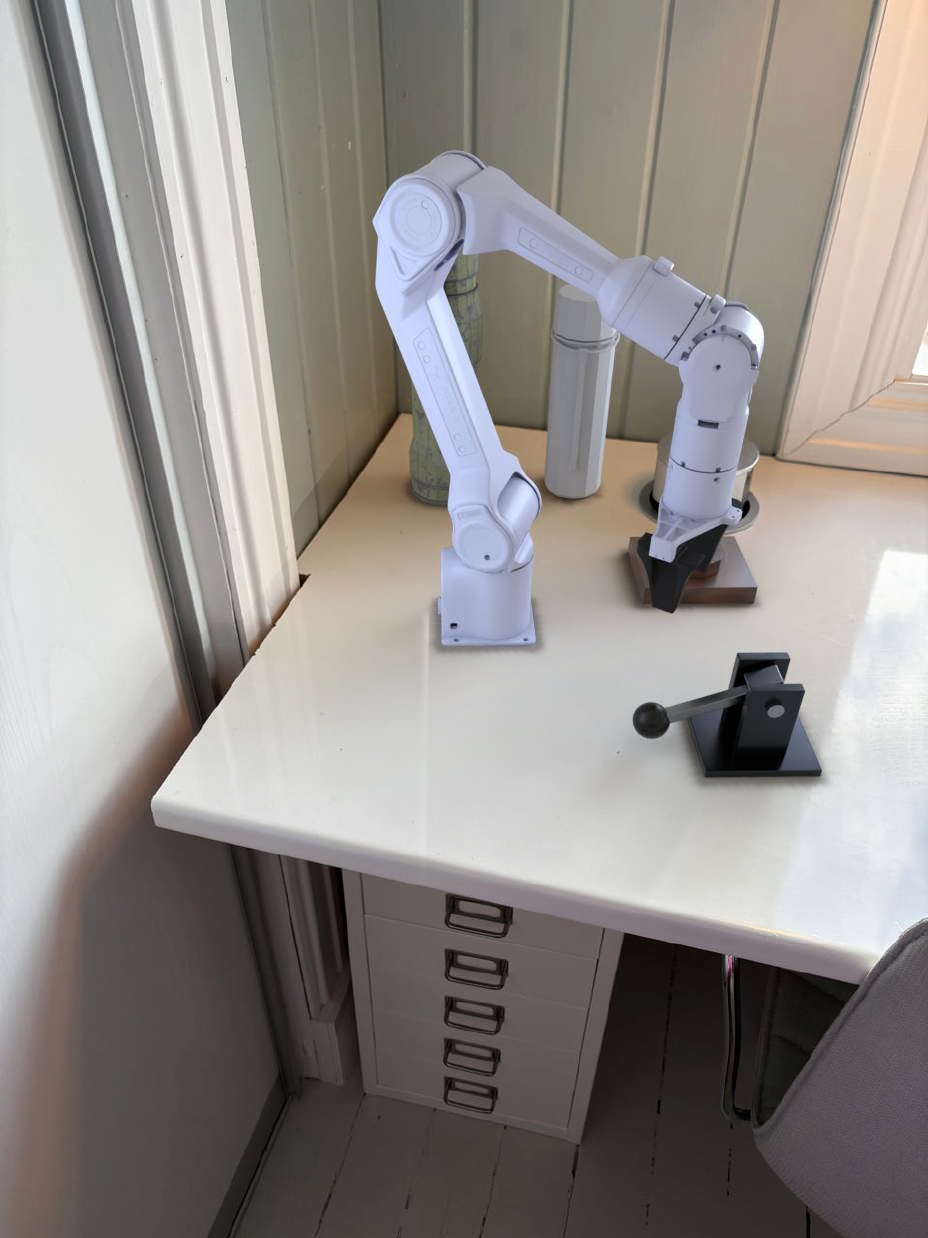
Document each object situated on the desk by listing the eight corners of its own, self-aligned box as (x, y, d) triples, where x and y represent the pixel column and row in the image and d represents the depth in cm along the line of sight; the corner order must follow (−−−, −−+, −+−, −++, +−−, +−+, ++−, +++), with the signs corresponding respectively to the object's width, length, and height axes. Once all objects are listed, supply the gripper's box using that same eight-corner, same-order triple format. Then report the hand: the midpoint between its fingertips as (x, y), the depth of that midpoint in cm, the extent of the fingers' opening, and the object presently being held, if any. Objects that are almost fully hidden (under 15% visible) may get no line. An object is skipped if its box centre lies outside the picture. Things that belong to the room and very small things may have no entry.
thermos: (481, 466, 123) (486, 182, 102) (478, 513, 114) (484, 210, 92) (414, 464, 123) (406, 180, 102) (406, 511, 114) (395, 209, 92)
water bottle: (542, 471, 122) (555, 279, 107) (602, 476, 121) (624, 282, 106) (537, 507, 115) (550, 306, 99) (601, 512, 114) (624, 310, 99)
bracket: (704, 779, 79) (722, 704, 74) (684, 715, 86) (700, 641, 80) (819, 778, 80) (846, 703, 74) (792, 714, 86) (814, 640, 81)
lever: (641, 750, 81) (631, 726, 79) (635, 724, 83) (625, 700, 81) (791, 708, 78) (784, 682, 76) (780, 682, 80) (773, 656, 78)
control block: (642, 604, 99) (647, 574, 97) (627, 552, 107) (631, 523, 105) (753, 603, 99) (761, 573, 97) (730, 552, 107) (737, 522, 105)
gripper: (718, 507, 72) (691, 643, 80) (777, 435, 81) (747, 563, 90) (634, 482, 75) (616, 616, 83) (701, 416, 84) (679, 541, 93)
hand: (679, 587), depth 86 cm, fingers open, 7 cm apart
